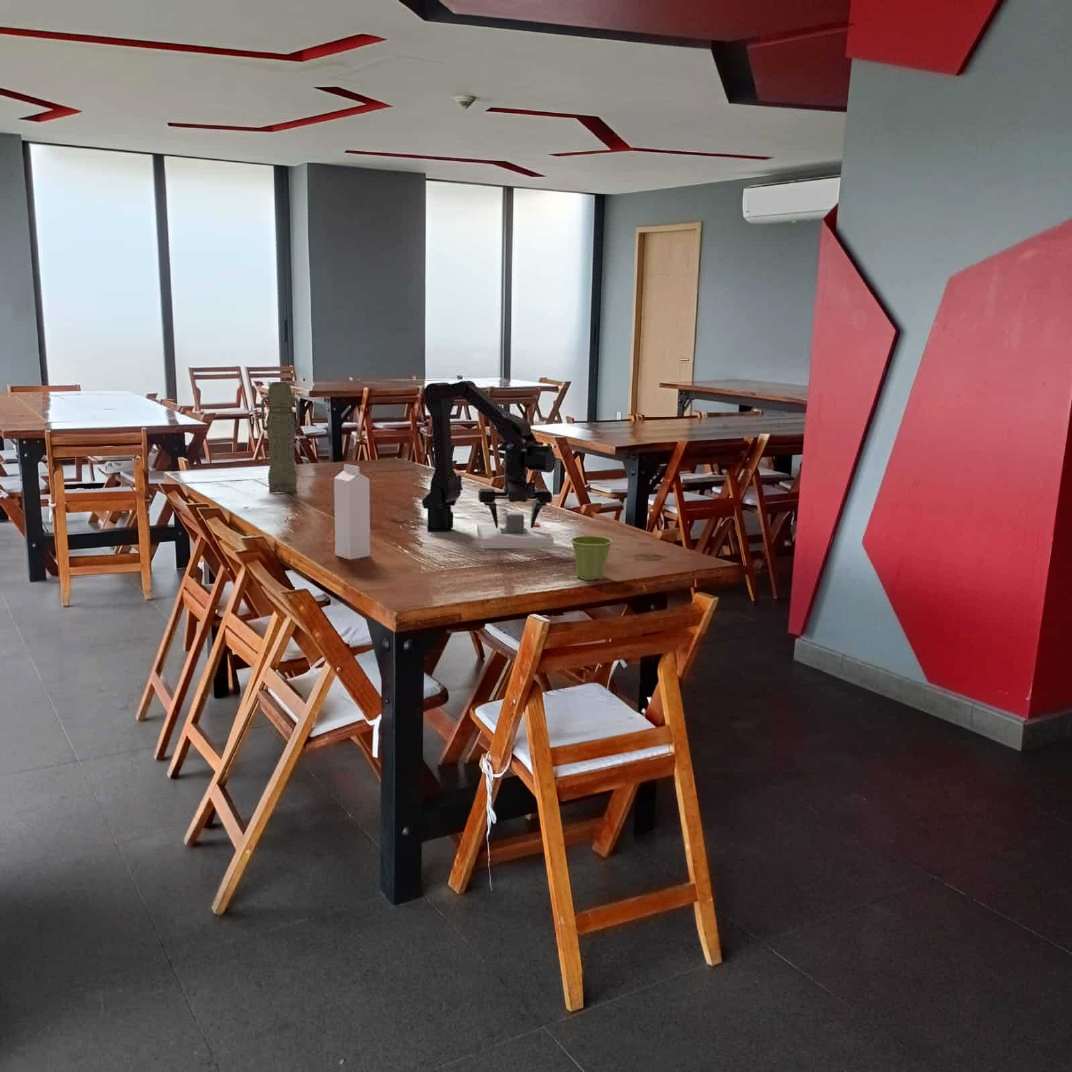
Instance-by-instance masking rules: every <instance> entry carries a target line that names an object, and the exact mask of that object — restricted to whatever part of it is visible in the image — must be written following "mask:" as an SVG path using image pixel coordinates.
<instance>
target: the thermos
mask: <svg viewBox="0 0 1072 1072" xmlns="http://www.w3.org/2000/svg"><path fill="white" fill-rule="evenodd" d="M265 401H267V407H268V415H267V418H266V420H265ZM293 401H294V402H295V405H296V409H295V411H296V412H295V413H296V420H295V417H294V412H293V405H294V402H293ZM300 403H301V402H300V400H299V399H298V398H297V397H294V395H293V391H292V387H291V384H290V383H288V381H272V382H271V383H269V386H268V390H267V396H264V397H263V398H262V399H261V401H260V409H261V426H262V427H261V428H262V430H265V431H266V436H267V440H268V453H269V454H268V457H269V469H268V473H267V474H268V475H267V478H268V480H267V483H268V488H269V489H268V492H269V491H270V493H272V492H292V493H295V492H294V491H296V490H297V483H298V479H297V478H298V476H297V475H298V474H297V471H296V468H295V467H296V466H295V459H296V458H295V439H296V431H298V430H299V429H300V427H301V420H300V419H301V418H300V417H301V416H300V415H301V414H300V412H301V408H300V406H301V405H300ZM265 421H266V422H265ZM265 423H266V425H265ZM296 492H297V491H296Z"/></svg>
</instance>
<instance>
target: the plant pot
mask: <svg viewBox="0 0 1072 1072" xmlns="http://www.w3.org/2000/svg"><path fill="white" fill-rule="evenodd" d="M570 542H571V543H572V548H573V549H574V556H575V557H574V559H575V566H576V575H577V577H578V578H580V580H586V581H593V580H596V579H597V580H602V579H604V578H605V576H606V575H605V573H606V569H607V568H606V567H607V562H608V556H609V550H610V549H611V545H612V544H613V540H612V539H611V538H610V537H609V538H608V537H604V536H597V535H579V536H575V537H572V538H571V539H570Z"/></svg>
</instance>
